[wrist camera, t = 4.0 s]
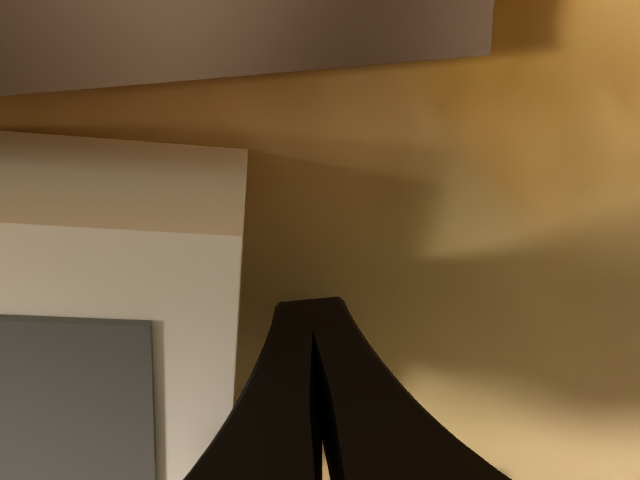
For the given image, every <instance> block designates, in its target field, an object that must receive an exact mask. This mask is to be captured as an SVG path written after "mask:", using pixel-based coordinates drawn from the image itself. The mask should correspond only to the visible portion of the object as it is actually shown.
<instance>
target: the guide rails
mask: <svg viewBox="0 0 640 480" xmlns="http://www.w3.org/2000/svg"><path fill="white" fill-rule="evenodd" d="M493 13H494V0H0V96H9V95H21V94H33V93H45V92H57V91H69V90H81V89H93V88H104V87H116V86H128V85H140V84H152V83H164V82H176V81H188V80H200V79H212V78H224V77H236V76H248V75H260V74H272V73H284V72H296V71H308V70H320V69H332V68H344V67H356V66H368V65H379V64H391V63H403V62H415V61H427V60H439V59H451V58H463V57H475V56H487V55H490V54H491V40H492V27H493Z"/></svg>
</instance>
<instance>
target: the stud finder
mask: <svg viewBox="0 0 640 480" xmlns="http://www.w3.org/2000/svg"><path fill="white" fill-rule="evenodd" d="M247 162H248V149H240V148H226V147H213V146H200V145H186V144H173V143H160V142H146V141H133V140H119V139H106V138H93V137H79V136H66V135H52V134H39V133H26V132H12V131H0V480H183V479H184V478H185V476H186V475H187V474H188V473H189V471H190V470H191V469H192V468H193V466H194V465H195V463H196V462H197V461H198V459H199V458H200V457H201V455H202V454H203V453H204V451H205V450H206V449H207V447H208V446H209V445H210V443H211V442H212V440H213V439H214V437H215V436H216V434H217V433H218V431H219V430H220V428H221V427H222V425H223V424H224V422H225V420H226V419H227V417H228V416H229V414H230V412H231V411H232V409H233V407H234V399H235V381H236V363H237V345H238V326H239V308H240V290H241V272H242V253H243V235H244V217H245V199H246V181H247Z"/></svg>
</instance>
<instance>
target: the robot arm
mask: <svg viewBox="0 0 640 480" xmlns="http://www.w3.org/2000/svg"><path fill="white" fill-rule="evenodd" d="M322 441H323V446H324V451H325V455H326V460H327V465H328V470H329V475H330V480H512V479H510V478H509V477H507V476H506V475H504V474H503V473H501V472H500V471H499V470H497V469H496V468H495V467H493V466H492V465H491V464H489V463H488V462H487V461H485V460H484V459H483V458H482V457H480V456H479V455H478V454H476V453H475V452H474V451H472V450H471V449H470V448H469V447H467V446H466V445H465V444H463V443H462V442H461V441H460V440H458V439H457V438H456V437H455V436H454V435H453V434H451V433H450V432H449V431H448V430H447V429H446V428H445V427H444V426H442V425H441V424H440V423H439V422H438V421H437V420H436V419H435V418H434V417H433V416H432V415H431V414H430V413H428V412H427V411H426V410H425V409H424V408H423V407H422V406H421V405H420V404H419V403H418V402H417V401H416V400H415V399H414V397H413V396H412V395H411V394H410V393H409V392H408V391H407V390H406V389H405V388H404V387H403V385H402V384H401V383H400V382H399V381H398V380H397V379H396V377H395V376H394V375H393V374H392V373H391V372H390V370H389V369H388V368H387V367H386V365H385V364H384V363H383V362H382V360H381V359H380V358H379V356H378V355H377V354H376V352H375V351H374V350H373V348H372V347H371V346H370V344H369V343H368V341H367V340H366V339H365V337H364V336H363V334H362V333H361V331H360V329H359V328H358V326H357V325H356V323H355V322H354V320H353V318H352V316H351V315H350V313H349V311H348V309H347V307H346V305H345V302H344V301H343V300H342V299H341V298H339V297H329V298H319V299H308V300H298V301H288V302H280V303H279V304H278V305H277V306H276V307H275V311H274V316H273V320H272V324H271V327H270V330H269V333H268V336H267V338H266V341H265V344H264V346H263V349H262V351H261V353H260V355H259V358H258V360H257V362H256V365H255V367H254V369H253V371H252V373H251V375H250V377H249V379H248V381H247V383H246V385H245V387H244V389H243V391H242V392H241V394H240V396H239V398H238V400H237V402H236V404H235V405H234V407H233V409H232V411H231V412H230V414H229V416H228V417H227V419H226V420H225V422H224V424H223V425H222V427H221V428H220V430H219V431H218V433H217V434H216V436H215V437H214V439H213V440H212V442H211V443H210V445H209V446H208V447H207V449H206V450H205V451H204V453H203V454H202V455H201V457H200V458H199V459H198V461H197V462H196V463H195V465H194V466H193V468H192V469H191V470H190V471H189V473H188V474H187V475H186V476H185V478H184V479H183V480H322Z"/></svg>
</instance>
